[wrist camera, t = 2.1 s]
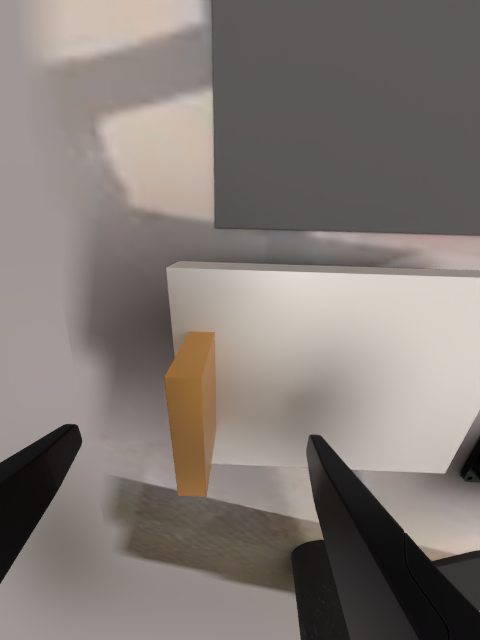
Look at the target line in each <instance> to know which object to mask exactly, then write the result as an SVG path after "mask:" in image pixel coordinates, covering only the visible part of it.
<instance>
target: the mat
mask: <svg viewBox="0 0 480 640" xmlns="http://www.w3.org/2000/svg"><path fill="white" fill-rule="evenodd" d="M212 17H213V95H214V173H215V227H221V228H255V229H289V230H323V231H357V232H391V233H425V234H458V235H480V0H212Z"/></svg>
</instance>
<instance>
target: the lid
mask: <svg viewBox="0 0 480 640" xmlns="http://www.w3.org/2000/svg"><path fill="white" fill-rule="evenodd" d="M166 272H167V283H168V293H169V304H170V315H171V325H172V336H173V346H174V357H175V358H174V360H173V362H172V364H171V366H170V368H169V369H168V371H167V373H166V375H165V377H164V381H165V389H166V397H167V406H168V414H169V423H170V431H171V440H172V448H173V456H174V465H175V473H176V482H177V490H178V496H201V497H207V490H208V483H209V476H210V469H211V464H229V465H253V466H277V467H301V468H308V462H307V456H306V448H307V443H308V437H309V435H310V434H316V435H321V436H322V437H323V438H324V439H325V441H326V442H327V443H328V444H329V445H330V446H331V447H332V449H333V450H334V451H335V452H336V453H337V454H338V455H339V457H340V458H341V459H342V460H343V461H344V462H345V463H346V465H347V466H348V467H349V468H350V469H351V470H373V471H397V472H421V473H445V472H446V470H447V469H448V467H449V465H450V463H451V461H452V459H453V458H454V456H455V454H456V452H457V450H458V448H459V447H460V445H461V443H462V441H463V439H464V438H465V436H466V434H467V432H468V430H469V428H470V427H471V425H472V423H473V421H474V419H475V417H476V416H477V414H478V412H479V410H480V271H478V270H446V269H414V268H383V267H351V266H319V265H287V264H255V263H223V262H191V261H178V262H176V263H174V264H172V265H170V266H168V267H167V268H166Z"/></svg>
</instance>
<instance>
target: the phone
mask: <svg viewBox="0 0 480 640" xmlns="http://www.w3.org/2000/svg"><path fill="white" fill-rule="evenodd" d="M432 562H433V564H434V565H435V566H436V567H437V568H438V569H439V570H440V571H441V572H442V573H443V574H444V575H445V576H446V578H447V579H448V580H449V581H450V582H451V583H452V584H453V585H454V586H455V587H456V588H457V589H458V590H459V591H460V592H461V593H462V594H463V595H464V596H465V597H466V598H467V599H468V600H469V601H470V602H471V603H472V604H473V605H474V606H475V607H476V609H477V610H480V550H479V551H473V552H469V553H465V554H460V555H456V556H452V557H448V558H444V559H440V560H435V561H432Z"/></svg>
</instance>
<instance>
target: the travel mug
mask: <svg viewBox="0 0 480 640" xmlns="http://www.w3.org/2000/svg"><path fill="white" fill-rule="evenodd" d="M292 566H293V575H294V584H295V593H296V601H297V609H298V619H299V627H300V636H301V640H351V639H350V636H349V632H348V628H347V624H346V621H345V617H344V613H343V609H342V605H341V602H340V598H339V594H338V590H337V587H336V583H335V579H334V575H333V572H332V568H331V564H330V560H329V556H328V553H327V549H326V545H325V541H313V542H309V543H306V544H303V545H301V546H299V547H298V548H297V549H296V550H295V551H294V552H293V554H292Z"/></svg>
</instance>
